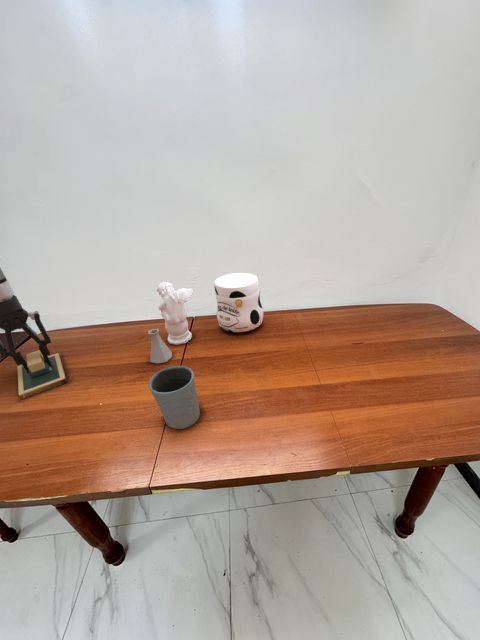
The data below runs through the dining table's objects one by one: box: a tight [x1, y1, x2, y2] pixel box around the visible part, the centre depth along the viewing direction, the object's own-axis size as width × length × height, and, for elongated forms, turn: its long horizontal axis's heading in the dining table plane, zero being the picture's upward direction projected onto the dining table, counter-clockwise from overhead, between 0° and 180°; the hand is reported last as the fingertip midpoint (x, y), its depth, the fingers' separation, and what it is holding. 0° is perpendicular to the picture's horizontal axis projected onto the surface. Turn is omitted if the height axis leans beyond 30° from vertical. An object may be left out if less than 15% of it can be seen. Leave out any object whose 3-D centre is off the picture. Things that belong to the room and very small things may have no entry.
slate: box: [16, 352, 68, 400], centre depth 91 cm, size 18×12×2 cm, turn 37°
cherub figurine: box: [156, 281, 195, 346], centre depth 100 cm, size 12×12×22 cm
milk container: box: [213, 272, 264, 334], centre depth 107 cm, size 17×17×18 cm
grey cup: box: [148, 365, 201, 430], centre depth 70 cm, size 10×10×12 cm
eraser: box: [25, 349, 50, 378], centre depth 92 cm, size 9×5×4 cm, turn 36°
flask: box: [147, 328, 173, 364], centre depth 94 cm, size 7×7×10 cm
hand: (39, 367), depth 93 cm, fingers closed on eraser, 5 cm apart
